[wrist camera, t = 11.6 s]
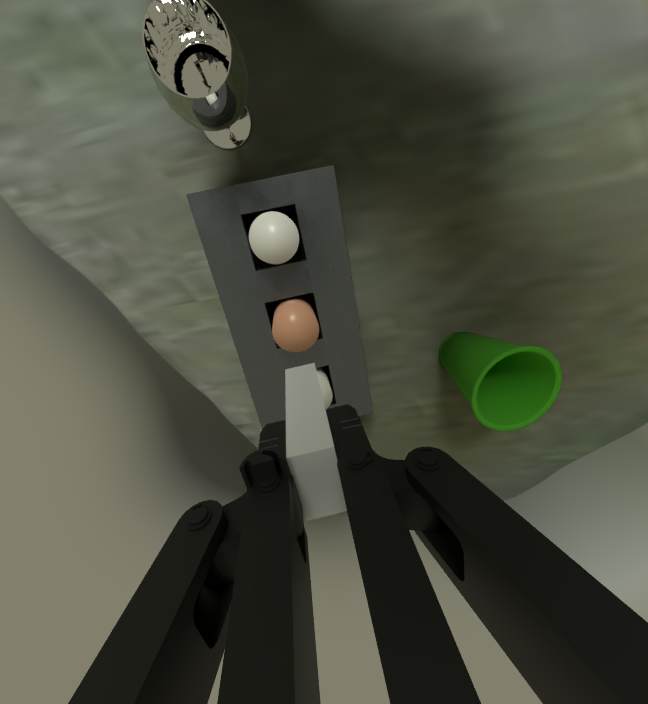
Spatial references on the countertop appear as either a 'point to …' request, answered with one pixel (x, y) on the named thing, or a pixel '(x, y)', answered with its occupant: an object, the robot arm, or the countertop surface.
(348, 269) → the grey socket block
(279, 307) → the plug terracotta
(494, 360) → the cup
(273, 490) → the robot arm
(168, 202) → the countertop surface
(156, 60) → the wineglass
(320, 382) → the white plug
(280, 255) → the white plug
